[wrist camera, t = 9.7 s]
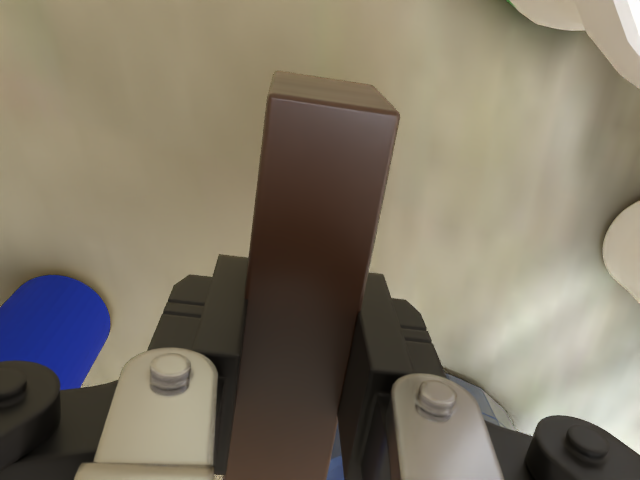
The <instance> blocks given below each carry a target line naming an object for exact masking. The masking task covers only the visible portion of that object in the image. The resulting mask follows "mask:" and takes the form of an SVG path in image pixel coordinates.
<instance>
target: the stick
mask: <svg viewBox="0 0 640 480" xmlns="http://www.w3.org/2000/svg"><path fill="white" fill-rule="evenodd" d="M399 120H400V114H399V112H398V111H397V110H396V109H395V108H394V107H393V106H392V105H391V104H390V102H389V101H388V100H387V99H386V98H385V97H384V96H383V95H382V94H381V93H380V92H379V91H378V90H377V89H376V88H375V87H374V86H373V85H369V84H362V83H356V82H349V81H343V80H336V79H329V78H323V77H316V76H310V75H303V74H297V73H290V72H283V71H275V72H274V74H273V77H272V81H271V85H270V88H269V92H268V96H267V103H266V111H265V120H264V129H263V137H262V146H261V155H260V163H259V172H258V181H257V189H256V198H255V207H254V215H253V224H252V233H251V242H250V250H249V259H248V268H247V276H246V285H245V294H244V298H245V299H247V300H248V306H247V315H246V323H245V331H244V340H243V348H242V356H241V364H240V373H239V381H238V389H237V398H236V406H235V413H234V420H233V428H232V435H231V442H230V449H229V456H228V464H227V471H226V475H224V476H223V480H326V479H327V474H328V469H329V464H330V459H331V454H332V450H333V445H334V440H335V435H336V430H337V425H338V417H337V415H338V410H339V405H340V400H341V396H342V391H343V386H344V381H345V376H346V371H347V366H348V361H349V356H350V351H351V346H352V341H353V337H354V332H355V327H356V322H357V317H358V312H360V311H361V307H362V302H363V297H364V292H365V287H366V282H367V277H368V273H369V268H370V263H371V258H372V253H373V248H374V243H375V238H376V233H377V228H378V223H379V218H380V214H381V209H382V204H383V199H384V194H385V189H386V184H387V179H388V174H389V169H390V164H391V159H392V155H393V150H394V145H395V140H396V135H397V130H398V125H399Z"/></svg>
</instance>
